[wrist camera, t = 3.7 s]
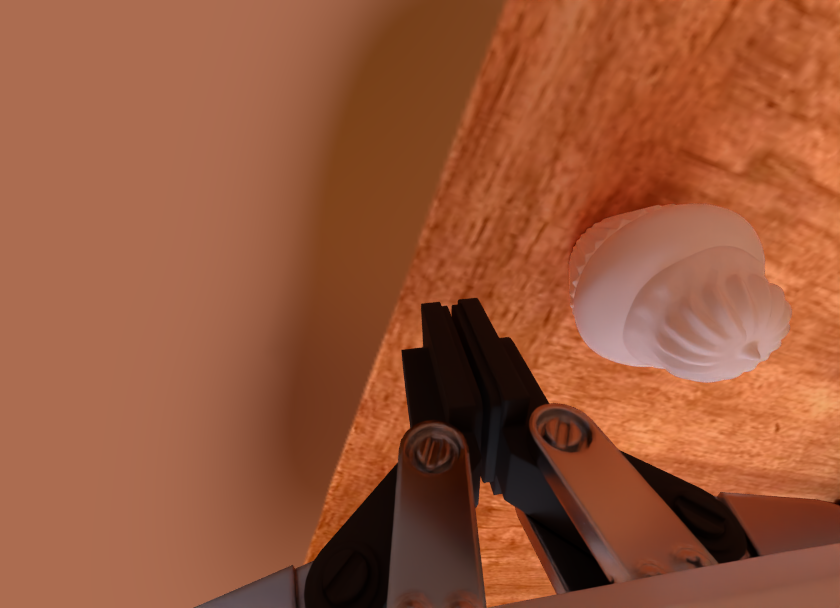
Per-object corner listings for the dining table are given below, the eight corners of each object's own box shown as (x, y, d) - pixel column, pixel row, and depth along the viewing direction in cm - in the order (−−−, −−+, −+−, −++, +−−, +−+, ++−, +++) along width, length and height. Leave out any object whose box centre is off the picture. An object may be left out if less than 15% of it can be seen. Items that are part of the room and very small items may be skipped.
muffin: (678, 274, 16) (856, 382, 10) (555, 331, 17) (655, 460, 11) (669, 147, 13) (923, 197, 7) (517, 225, 14) (631, 329, 8)
